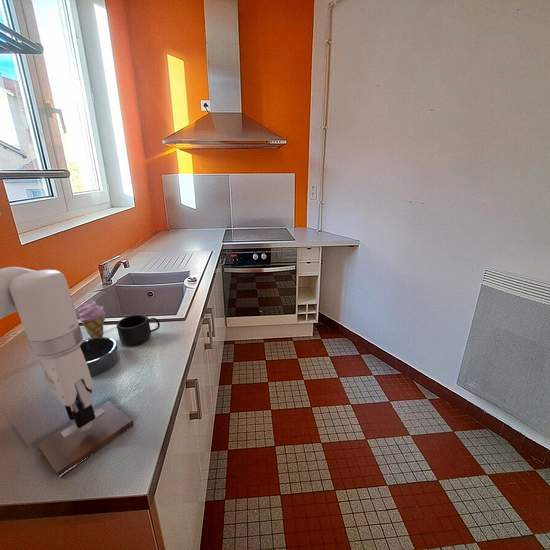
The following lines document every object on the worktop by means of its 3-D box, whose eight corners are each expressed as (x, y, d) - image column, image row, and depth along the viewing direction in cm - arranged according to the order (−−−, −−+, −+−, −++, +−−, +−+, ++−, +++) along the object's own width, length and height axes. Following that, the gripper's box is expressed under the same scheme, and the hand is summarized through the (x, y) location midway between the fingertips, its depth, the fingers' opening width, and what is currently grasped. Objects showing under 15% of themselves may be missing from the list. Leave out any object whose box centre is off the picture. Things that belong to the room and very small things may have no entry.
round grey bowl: (79, 387, 76) (74, 371, 74) (59, 369, 83) (54, 353, 81) (128, 361, 85) (124, 346, 83) (106, 347, 92) (102, 332, 91)
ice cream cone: (109, 337, 98) (99, 294, 93) (115, 344, 93) (104, 300, 88) (86, 345, 94) (73, 301, 88) (91, 353, 89) (78, 308, 84)
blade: (67, 442, 57) (56, 412, 54) (61, 436, 58) (50, 405, 56) (107, 416, 63) (99, 387, 60) (101, 411, 64) (93, 382, 61)
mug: (122, 352, 89) (117, 331, 87) (119, 338, 97) (115, 319, 94) (164, 340, 95) (160, 320, 93) (158, 328, 102) (155, 309, 100)
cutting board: (59, 478, 53) (57, 472, 53) (39, 449, 59) (36, 444, 58) (134, 425, 64) (132, 420, 63) (110, 405, 70) (109, 400, 69)
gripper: (16, 335, 55) (45, 413, 62) (50, 366, 46) (80, 454, 52) (61, 318, 61) (84, 391, 67) (100, 343, 52) (122, 425, 58)
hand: (82, 418), depth 60 cm, fingers closed on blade, 2 cm apart
